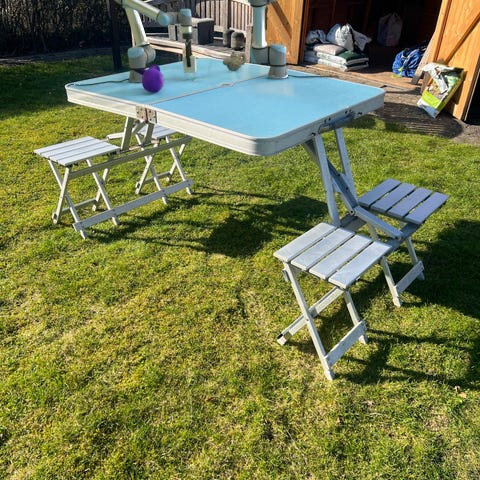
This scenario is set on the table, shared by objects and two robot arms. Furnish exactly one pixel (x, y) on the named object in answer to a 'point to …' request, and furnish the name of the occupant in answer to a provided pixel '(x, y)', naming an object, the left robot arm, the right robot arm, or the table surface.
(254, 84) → the table surface
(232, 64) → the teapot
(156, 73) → the toy
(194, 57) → the brick
